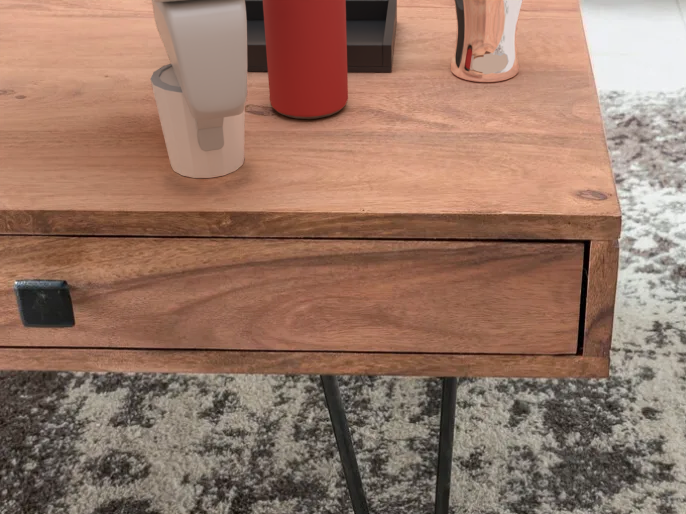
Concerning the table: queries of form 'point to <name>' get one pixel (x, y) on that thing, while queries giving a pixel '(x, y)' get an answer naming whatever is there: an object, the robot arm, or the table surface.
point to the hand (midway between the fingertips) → (203, 129)
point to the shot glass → (194, 132)
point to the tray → (361, 30)
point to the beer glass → (486, 40)
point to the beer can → (306, 56)
